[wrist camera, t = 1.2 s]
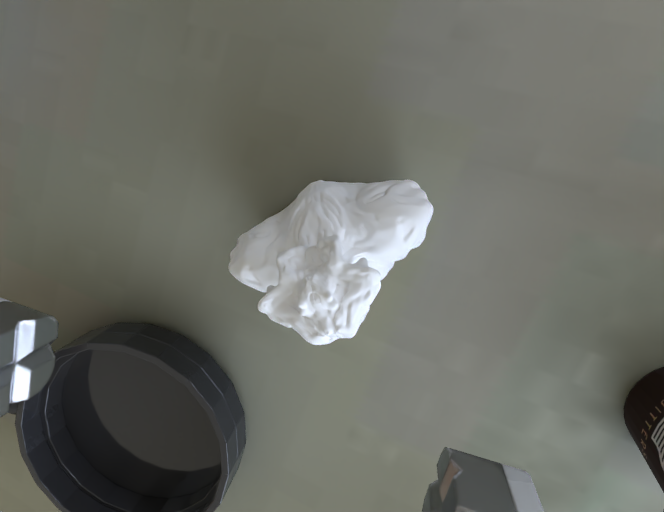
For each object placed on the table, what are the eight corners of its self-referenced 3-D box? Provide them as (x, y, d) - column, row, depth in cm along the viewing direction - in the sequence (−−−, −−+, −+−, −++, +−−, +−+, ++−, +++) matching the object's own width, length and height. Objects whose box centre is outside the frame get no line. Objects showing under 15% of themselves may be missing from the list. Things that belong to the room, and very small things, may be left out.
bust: (264, 254, 32) (261, 408, 25) (206, 178, 27) (180, 347, 20) (429, 202, 30) (479, 356, 22) (402, 107, 24) (457, 269, 17)
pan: (46, 460, 37) (5, 496, 33) (72, 291, 33) (29, 310, 29) (221, 528, 36) (199, 574, 32) (271, 362, 32) (253, 392, 28)
